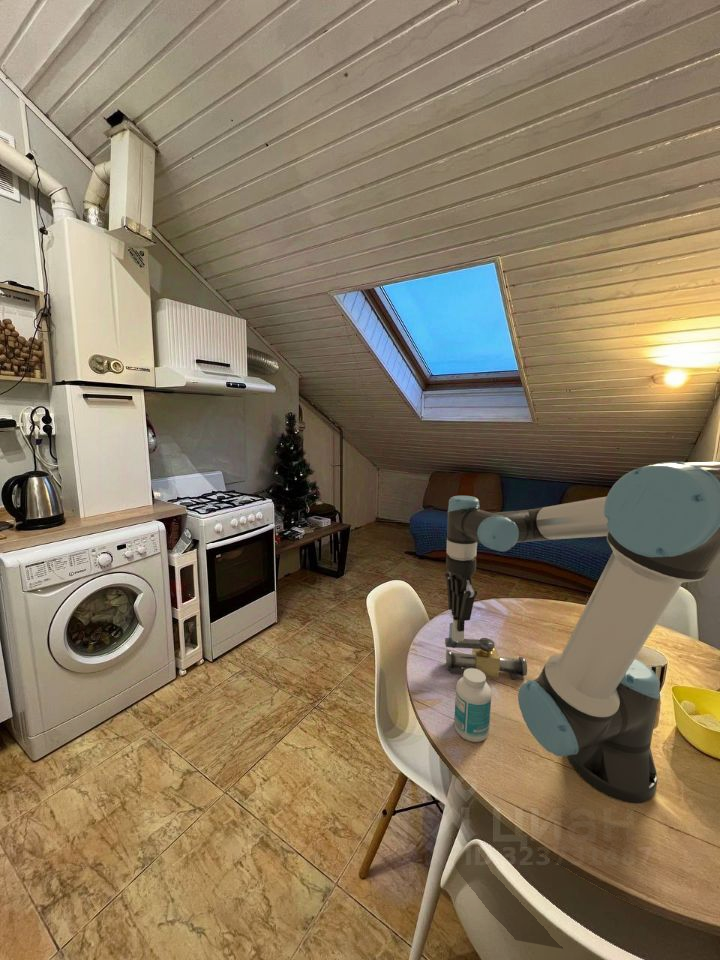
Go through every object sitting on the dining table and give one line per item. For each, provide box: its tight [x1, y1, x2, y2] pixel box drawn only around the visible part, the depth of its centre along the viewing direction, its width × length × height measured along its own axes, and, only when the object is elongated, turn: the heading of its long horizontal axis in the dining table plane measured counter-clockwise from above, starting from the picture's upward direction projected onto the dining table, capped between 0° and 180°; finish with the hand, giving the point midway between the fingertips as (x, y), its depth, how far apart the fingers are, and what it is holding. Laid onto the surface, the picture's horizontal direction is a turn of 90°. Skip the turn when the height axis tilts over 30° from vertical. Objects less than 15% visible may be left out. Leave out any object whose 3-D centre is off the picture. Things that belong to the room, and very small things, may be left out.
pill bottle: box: [453, 668, 492, 743], centre depth 82 cm, size 8×7×14 cm
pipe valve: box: [445, 645, 528, 682], centre depth 102 cm, size 6×21×7 cm, turn 83°
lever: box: [444, 622, 496, 652], centre depth 101 cm, size 13×4×6 cm, turn 86°
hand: (457, 639), depth 100 cm, fingers closed
